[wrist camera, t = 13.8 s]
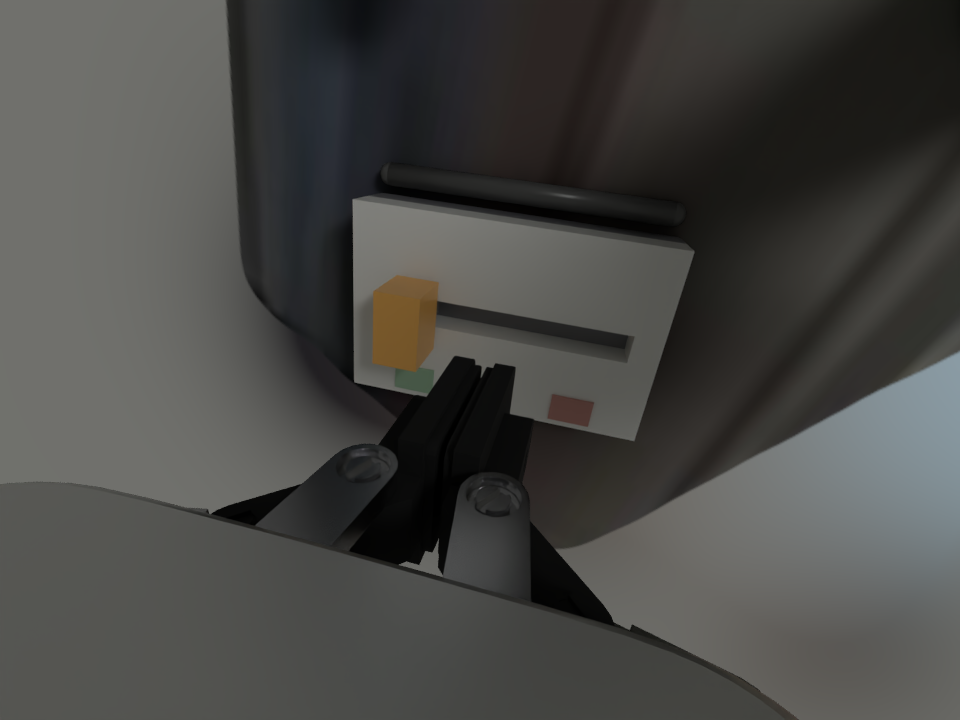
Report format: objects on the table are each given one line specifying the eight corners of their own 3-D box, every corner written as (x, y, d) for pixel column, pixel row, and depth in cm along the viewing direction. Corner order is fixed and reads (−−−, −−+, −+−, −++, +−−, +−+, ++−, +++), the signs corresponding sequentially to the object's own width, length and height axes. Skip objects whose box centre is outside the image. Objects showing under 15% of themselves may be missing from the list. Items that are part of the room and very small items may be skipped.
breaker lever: (448, 273, 34) (420, 299, 28) (442, 336, 36) (415, 372, 30) (408, 266, 34) (373, 291, 28) (405, 329, 36) (372, 363, 30)
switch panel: (689, 202, 31) (708, 212, 26) (628, 407, 38) (634, 442, 34) (382, 160, 34) (351, 161, 29) (379, 356, 41) (353, 383, 37)
